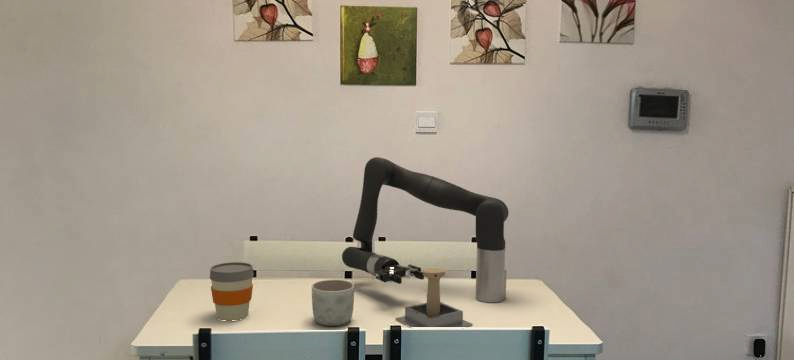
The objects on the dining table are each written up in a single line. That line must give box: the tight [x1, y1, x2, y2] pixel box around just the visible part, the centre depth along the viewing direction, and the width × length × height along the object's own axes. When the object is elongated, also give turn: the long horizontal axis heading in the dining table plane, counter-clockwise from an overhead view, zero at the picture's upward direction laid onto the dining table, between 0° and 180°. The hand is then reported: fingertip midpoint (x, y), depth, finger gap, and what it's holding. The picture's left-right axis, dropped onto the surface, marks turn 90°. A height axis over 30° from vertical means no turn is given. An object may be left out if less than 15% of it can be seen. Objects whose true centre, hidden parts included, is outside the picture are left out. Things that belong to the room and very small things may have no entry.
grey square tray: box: [395, 301, 473, 328], centre depth 171 cm, size 16×16×4 cm
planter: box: [311, 279, 355, 327], centre depth 171 cm, size 12×12×11 cm
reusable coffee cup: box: [209, 261, 254, 322], centre depth 174 cm, size 13×13×15 cm
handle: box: [422, 267, 446, 317], centre depth 171 cm, size 5×6×15 cm
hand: (412, 278), depth 180 cm, fingers open, 8 cm apart
